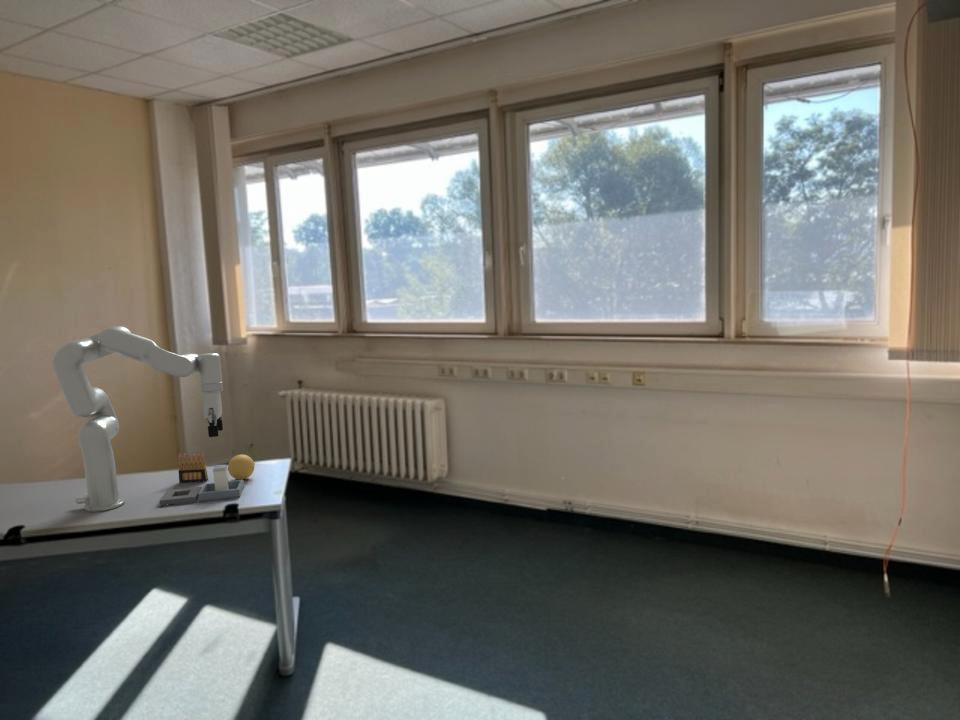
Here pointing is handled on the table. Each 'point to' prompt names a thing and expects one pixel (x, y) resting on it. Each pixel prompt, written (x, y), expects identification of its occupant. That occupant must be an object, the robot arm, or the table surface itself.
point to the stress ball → (241, 467)
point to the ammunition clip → (192, 468)
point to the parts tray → (210, 493)
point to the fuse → (220, 477)
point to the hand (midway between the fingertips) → (216, 433)
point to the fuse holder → (180, 496)
